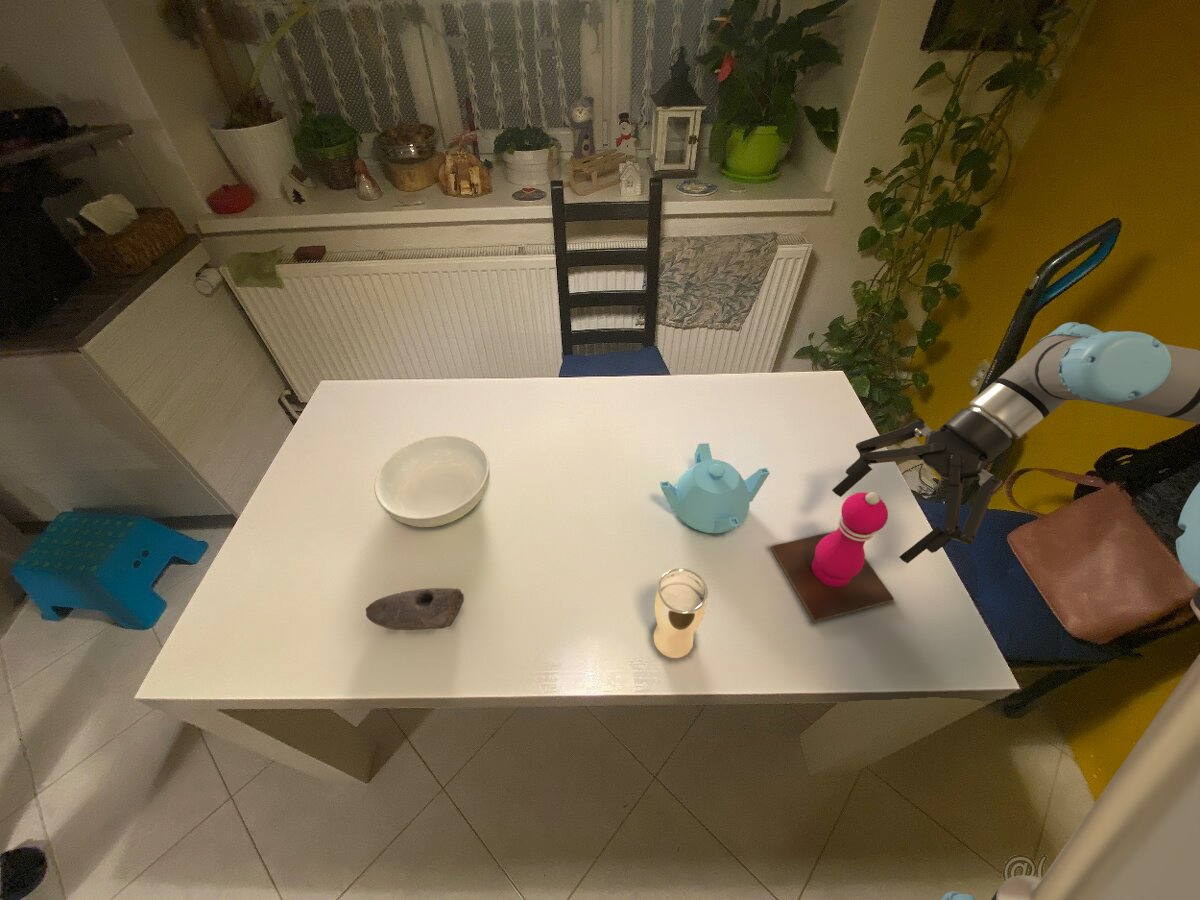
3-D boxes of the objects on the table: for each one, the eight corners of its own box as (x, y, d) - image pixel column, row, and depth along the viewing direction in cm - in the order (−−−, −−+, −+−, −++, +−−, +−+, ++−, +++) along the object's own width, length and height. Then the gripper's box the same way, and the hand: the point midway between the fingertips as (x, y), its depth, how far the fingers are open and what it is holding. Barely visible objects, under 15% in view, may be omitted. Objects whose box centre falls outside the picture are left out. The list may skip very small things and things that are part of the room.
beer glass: (697, 620, 80) (710, 570, 69) (695, 665, 75) (708, 618, 64) (652, 614, 81) (658, 563, 70) (648, 657, 76) (653, 609, 65)
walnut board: (891, 602, 81) (894, 598, 81) (813, 622, 79) (814, 619, 79) (842, 532, 91) (844, 528, 90) (770, 549, 89) (772, 545, 88)
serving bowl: (499, 455, 106) (494, 431, 101) (489, 538, 91) (482, 515, 87) (399, 460, 106) (389, 436, 101) (373, 544, 91) (359, 521, 86)
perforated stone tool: (368, 637, 79) (351, 616, 74) (377, 606, 83) (362, 584, 78) (464, 633, 79) (454, 612, 74) (469, 602, 83) (460, 580, 78)
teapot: (765, 501, 96) (778, 462, 89) (729, 556, 88) (740, 518, 80) (694, 466, 103) (700, 427, 95) (654, 514, 94) (658, 476, 87)
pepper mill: (810, 587, 82) (852, 512, 68) (805, 549, 87) (843, 472, 73) (857, 593, 82) (909, 518, 67) (849, 555, 86) (896, 477, 72)
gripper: (1080, 492, 65) (941, 595, 72) (921, 383, 81) (820, 475, 88) (1081, 478, 60) (930, 590, 66) (911, 364, 76) (803, 464, 82)
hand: (867, 525), depth 77 cm, fingers open, 13 cm apart
